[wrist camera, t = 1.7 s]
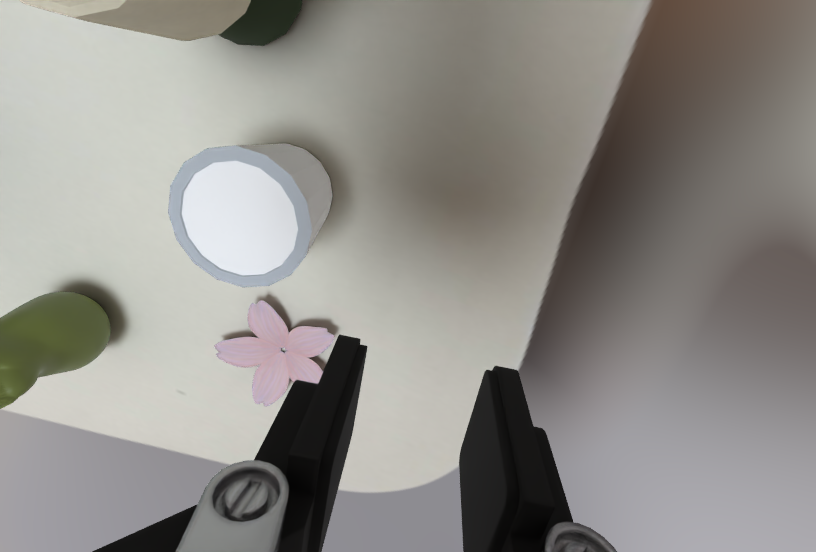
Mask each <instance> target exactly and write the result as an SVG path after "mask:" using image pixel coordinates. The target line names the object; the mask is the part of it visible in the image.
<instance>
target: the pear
mask: <svg viewBox="0 0 816 552" xmlns="http://www.w3.org/2000/svg"><path fill="white" fill-rule="evenodd" d="M110 333H111V328H110V322H109V319H108V317H107V315H106V313H105V311H104V310H103V309H102V307H101V306H100V305H99V304H97V303H96V302H95V301H93V300H92V299H90V298H88V297H86V296H84V295H81V294H78V293H73V292H54V293H49V294H45V295H42V296H39V297H37V298H34V299H32V300H30V301H29V302H27V303H25V304H23V305H21V306H19V307H18V308H16V309H14V310H12V311H11V312H9V313H8V314H6V315H4V316H3V317H1V318H0V409H1V408H3V407H5V406H7V405H9V404H11V403H13V402H14V401H15V400H16V399H17V398H18V397H19V396H21V395H23V394H24V393H25V392H27V391H28V390H29V389H30V388H31V387H32V386H33V385H34V384H35V382H36V380H37V378H38V377H43V376H48V375H52V374H57V373H62V372H68V371H72V370H76V369H79V368H81V367H83V366H85V365H87V364H89V363H90V362H92V361H93V360H94V359H96V358H97V357H98V356H99V355H100V354H101V353H102V351H103V350H104V349H105V347H106V345H107V343H108V341H109V338H110Z"/></svg>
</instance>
